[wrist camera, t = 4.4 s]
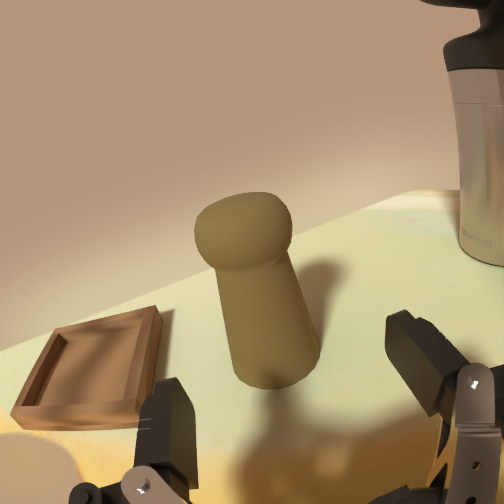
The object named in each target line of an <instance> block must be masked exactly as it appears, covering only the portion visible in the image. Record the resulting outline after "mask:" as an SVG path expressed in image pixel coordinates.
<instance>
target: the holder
mask: <svg viewBox="0 0 504 504" xmlns="http://www.w3.org/2000/svg"><path fill="white" fill-rule="evenodd" d="M162 323H163V320H162V318H161V316H160V314H159V311H158V309H157V307H156V305H154V306H150V307H146V308H142V309H138V310H134V311H130V312H125V313H121V314H117V315H113V316H109V317H105V318H100V319H96V320H92V321H88V322H83V323H79V324H75V325H70V326H66V327H61V328H57V329H55V330H54V331H53V333H52V335H51V337H50V338H49V340H48V342H47V343H46V345H45V347H44V349H43V350H42V352H41V354H40V356H39V358H38V359H37V361H36V363H35V365H34V367H33V369H32V371H31V372H30V374H29V376H28V378H27V380H26V382H25V384H24V386H23V388H22V390H21V392H20V394H19V396H18V398H17V400H16V403H15V405H14V407H13V409H12V411H11V413H10V416H11V417H12V418H13V419H14V420H15V421H16V422H17V423H18V424H19V425H20V426H21V427H22V428H23V429H26V430H47V431H90V430H111V429H125V428H137V427H138V423H139V421H140V420H139V416H140V408H141V406H142V404H143V402H144V401H145V399H146V397H147V396H151V394H152V387H153V380H154V372H155V366H156V359H157V353H158V346H159V340H160V334H161V328H162Z"/></svg>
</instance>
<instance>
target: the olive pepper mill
mask: <svg viewBox="0 0 504 504" xmlns="http://www.w3.org/2000/svg"><path fill="white" fill-rule="evenodd" d="M194 233H195V242H196V245H197V248H198V251H199V252H200V254H201V256H202V257H203V259H204V260H205V261H206V262H207V263H208V264H209V265H210V266H211V267H213V268H214V269H215V272H216V277H217V283H218V289H219V295H220V300H221V306H222V311H223V317H224V322H225V328H226V333H227V338H228V343H229V349H230V354H231V359H232V364H233V369H234V372H235V374H236V375H237V377H238V378H239V379H240V380H241V381H243V382H244V383H246V384H247V385H249V386H252V387H256V388H260V389H279V388H282V387H286V386H289V385H293V384H294V383H296V382H298V381H300V380H301V379H303V378H305V377H306V376H307V375H308V374H309V373H310V372H311V371H312V370H313V369H314V368H315V366H316V364H317V361H318V359H319V345H318V341H317V338H316V335H315V332H314V329H313V326H312V323H311V320H310V317H309V314H308V311H307V308H306V305H305V302H304V299H303V296H302V293H301V290H300V287H299V284H298V281H297V278H296V275H295V272H294V269H293V266H292V264H291V261H290V258H289V255H288V252H287V249H288V247H289V245H290V243H291V238H292V220H291V215H290V213H289V211H288V209H287V207H286V205H284V203H283V202H282V201H281V200H280V199H279V198H278V197H277V196H276V195H273V194H270V193H265V192H251V193H243V194H238V195H234V196H230V197H227V198H224V199H222V200H219V201H217V202H215V203H213V204H211V205H209V206H208V207H206V208H205V209H204V210H203V211H202V212H201V213H200V214H199V215H198V217H197V220H196V223H195V229H194Z"/></svg>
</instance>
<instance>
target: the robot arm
mask: <svg viewBox="0 0 504 504" xmlns="http://www.w3.org/2000/svg"><path fill="white" fill-rule="evenodd" d="M420 1H422V2H425V3H428V4H432V5H437V6H445V7H457V8H468V9H477V11H478V14H479V19H480V25H481V26H480V28H479V29H478V30H477V31H475V32H473V33H470V34H467V35H464V36H461V37H458V38H455V39H453V40H451V41H449V42H448V43H446V44H445V46H444V48H443V54H444V59H445V63H446V68H447V71H448V77H449V83H450V88H451V94H452V100H453V105H454V112H455V120H456V128H457V137H458V150H459V163H460V164H459V165H460V232H459V243H460V246H461V248H462V249H463V250H464V251H465V252H466V253H468V254H469V255H470V256H472V257H474V258H476V259H478V260H480V261H483V262H486V263H490V264H494V265H500V266H504V0H420ZM385 350H386V354H387V356H388V358H389V360H390V361H391V363H392V364H393V366H394V367H395V368H396V370H397V371H398V373H399V374H400V375H401V377H402V378H403V380H404V381H405V383H406V384H407V385H408V387H409V388H410V390H411V391H412V393H413V394H414V396H415V397H416V398H417V400H418V401H419V403H420V404H421V406H422V407H423V409H424V410H425V412H426V413H427V415H428V416H429V417H431V416H433V415H435V414H436V413H438V412H439V414H440V415H441V417H442V418H441V421H440V427H439V434H438V440H437V446H436V451H435V457H434V461H433V465H432V468H431V470H430V473H429V475H428V478H427V482H426V486H425V488H415V489H409V488H408V486H407V484H406V485H404V486H402V487H400V488H398V489H396V490H394V491H392V492H389V493H387V494H385V495H383V496H380V497H378V498H376V499H374V500H373V501H371V502H370V503H369V504H495V498H496V491H497V484H498V476H499V466H500V454H501V435H502V437H503V439H504V364H503V365H500V366H496V367H493V368H488V367H487V366H485V365H483V364H479V363H470V362H468V360H467V359H466V358H465V357H464V356H463V355H462V354H461V353H460V352H459V351H458V350H457V349H456V348H455V347H454V346H453V344H452V343H451V342H450V341H449V340H448V339H446V338H445V336H444V335H443V334H442V333H441V332H439V330H438V329H437V328H436V327H435V326H434V325H433V324H432V323H431V322H429V321H427V320H425V319H423V318H421V317H419V318H417V319H415V318H414V317H413V316H412V315H411V314H410V313H409V312H408V311H407V310H402V311H399V312H397V313H394V314H392V315H389V316H387V318H386V332H385ZM139 420H140V421H139V423H138V431H137V439H136V448H135V458H134V466H133V468H132V469H130V470H129V471H127V472H126V473H125V475H124V476H123V478H122V481H120V482H118V483H115V484H112V485H108V486H105V487H102V488H98V487H97V486H95V485H94V484H92V483H88V482H85V483H80V484H79V485H77V486H75V487H74V488H73V489H72V491H71V493H70V497H69V504H194V503H193V502H192V501H191V500H190V499H189V490H190V489H199V486H198V469H197V449H196V421H195V411H194V407H193V404H192V402H191V400H190V399H189V397H188V395H187V394H186V392H185V390H184V389H183V387H182V385H181V383H180V382H179V380H178V379H177V378H176V377H175V378H169V379H164V380H158V381H156V383H155V390H154V395H152V396H147V397H146V399H145V401H144V402H143V404H142V406H141V408H140V416H139Z"/></svg>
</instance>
